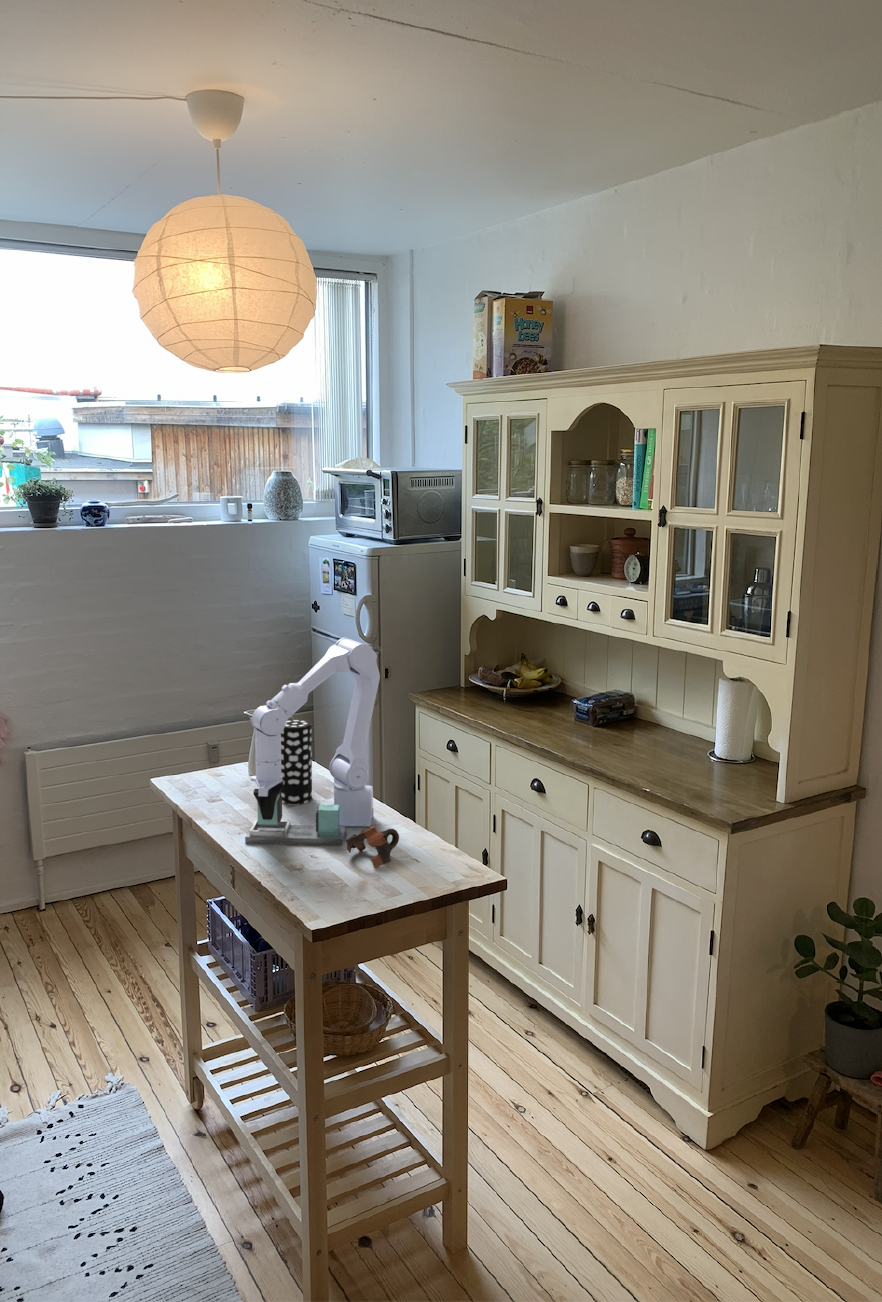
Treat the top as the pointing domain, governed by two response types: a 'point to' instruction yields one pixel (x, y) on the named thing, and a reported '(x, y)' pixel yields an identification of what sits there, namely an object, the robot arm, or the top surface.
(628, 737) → the top surface
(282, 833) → the grey long flat piece
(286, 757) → the white-spotted black cylinder
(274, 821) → the pale aqua cube
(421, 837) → the top surface
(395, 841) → the brown looped piece
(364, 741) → the robot arm
